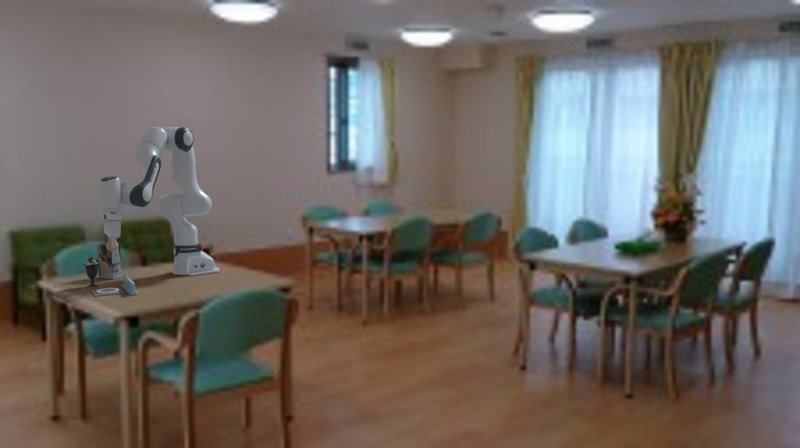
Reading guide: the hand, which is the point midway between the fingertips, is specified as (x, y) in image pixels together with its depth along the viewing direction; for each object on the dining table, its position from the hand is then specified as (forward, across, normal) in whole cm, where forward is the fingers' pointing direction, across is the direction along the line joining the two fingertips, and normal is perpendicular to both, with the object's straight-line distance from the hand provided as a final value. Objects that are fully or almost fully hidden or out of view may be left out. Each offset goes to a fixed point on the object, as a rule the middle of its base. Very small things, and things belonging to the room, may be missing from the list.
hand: (112, 246), depth 328 cm
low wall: (+20, -1, +7) cm, 21 cm away
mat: (+20, -1, -2) cm, 20 cm away
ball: (0, 0, 0) cm, 0 cm away
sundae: (+20, -18, -6) cm, 28 cm away
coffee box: (+20, -35, +4) cm, 40 cm away
